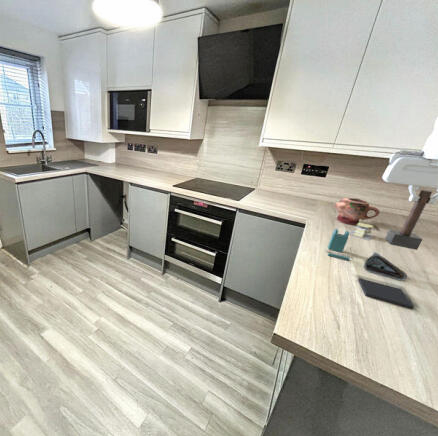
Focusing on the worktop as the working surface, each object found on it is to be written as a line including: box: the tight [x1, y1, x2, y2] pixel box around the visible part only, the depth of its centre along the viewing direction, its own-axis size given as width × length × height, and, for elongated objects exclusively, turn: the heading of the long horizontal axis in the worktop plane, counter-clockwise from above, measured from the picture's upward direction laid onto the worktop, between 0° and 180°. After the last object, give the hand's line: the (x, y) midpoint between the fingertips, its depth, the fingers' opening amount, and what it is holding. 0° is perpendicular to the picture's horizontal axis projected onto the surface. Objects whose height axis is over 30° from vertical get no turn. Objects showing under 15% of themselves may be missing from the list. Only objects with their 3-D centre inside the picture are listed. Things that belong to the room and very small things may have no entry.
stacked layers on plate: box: [348, 222, 376, 241], centre depth 121 cm, size 10×9×6 cm
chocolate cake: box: [363, 252, 408, 282], centre depth 90 cm, size 10×7×12 cm
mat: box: [357, 277, 415, 310], centre depth 76 cm, size 11×10×1 cm
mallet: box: [384, 189, 433, 251], centre depth 70 cm, size 6×14×14 cm
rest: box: [327, 228, 350, 261], centre depth 100 cm, size 7×10×9 cm
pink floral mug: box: [334, 197, 380, 226], centre depth 137 cm, size 20×12×14 cm, turn 47°
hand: (421, 202), depth 68 cm, fingers closed on mallet, 2 cm apart
